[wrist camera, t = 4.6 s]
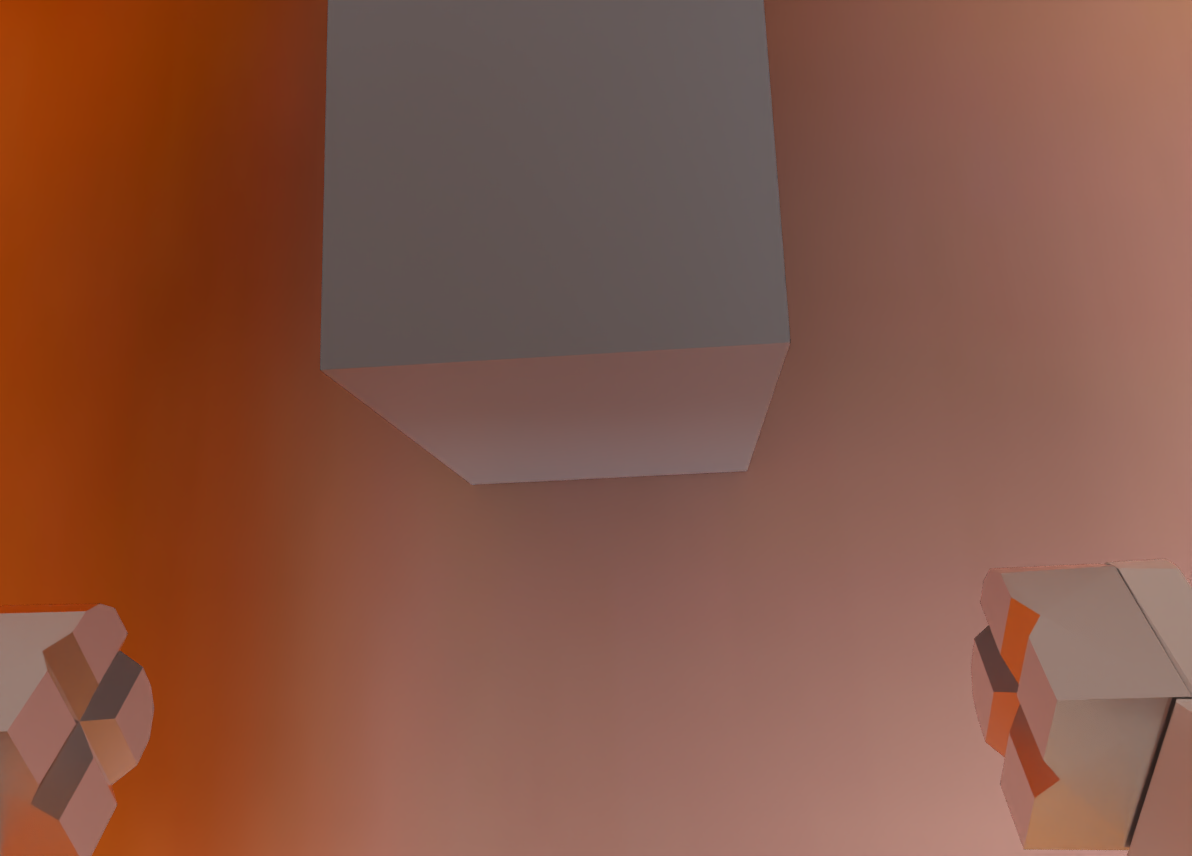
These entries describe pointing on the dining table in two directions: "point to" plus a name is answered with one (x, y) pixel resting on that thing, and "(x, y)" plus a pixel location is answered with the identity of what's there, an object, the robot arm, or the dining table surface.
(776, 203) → the grey block
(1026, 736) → the robot arm
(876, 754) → the dining table surface
